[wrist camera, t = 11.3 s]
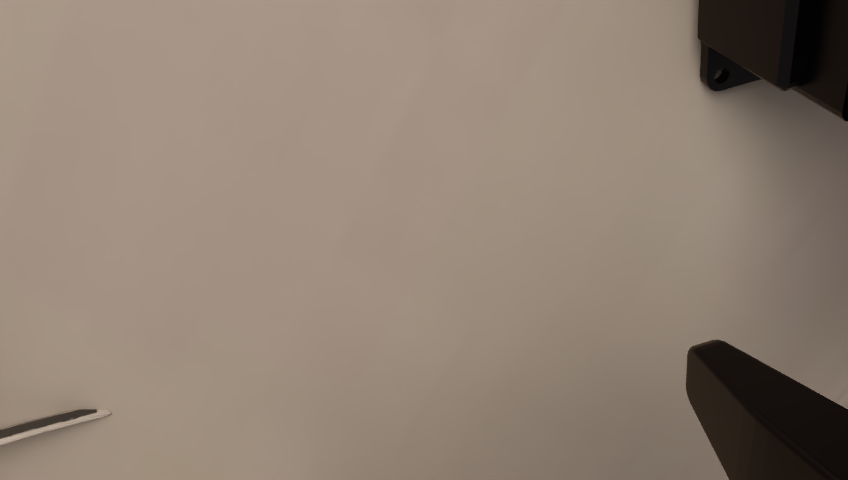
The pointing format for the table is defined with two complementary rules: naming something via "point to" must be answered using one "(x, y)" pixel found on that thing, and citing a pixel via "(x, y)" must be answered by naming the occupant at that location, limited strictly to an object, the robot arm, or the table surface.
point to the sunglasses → (49, 424)
